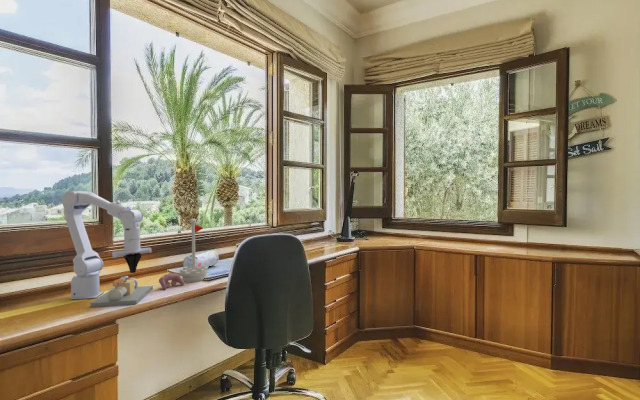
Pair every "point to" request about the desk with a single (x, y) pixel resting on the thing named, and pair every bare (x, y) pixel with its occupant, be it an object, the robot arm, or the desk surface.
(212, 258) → the pencil case
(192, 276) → the flag stand
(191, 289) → the desk surface
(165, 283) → the pink animal figurine
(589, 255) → the desk surface
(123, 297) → the valve board
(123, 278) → the valve lever
